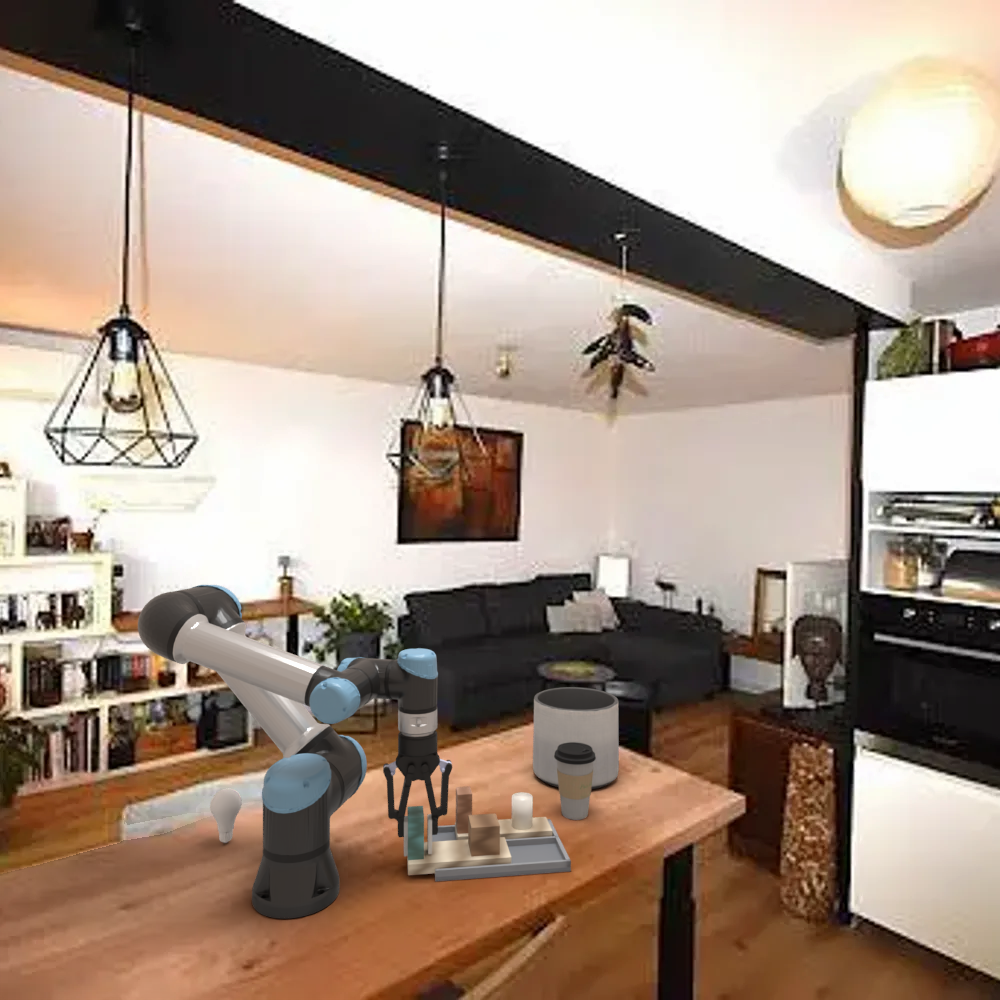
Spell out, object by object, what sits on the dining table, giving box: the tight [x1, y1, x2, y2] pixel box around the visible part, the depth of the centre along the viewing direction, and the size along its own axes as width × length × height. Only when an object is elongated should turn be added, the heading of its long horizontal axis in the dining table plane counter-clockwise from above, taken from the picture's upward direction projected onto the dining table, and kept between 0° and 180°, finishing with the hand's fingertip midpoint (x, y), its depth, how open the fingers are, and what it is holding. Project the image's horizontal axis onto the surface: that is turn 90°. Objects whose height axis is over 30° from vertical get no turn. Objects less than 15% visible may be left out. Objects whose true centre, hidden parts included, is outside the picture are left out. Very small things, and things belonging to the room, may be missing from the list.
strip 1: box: [406, 805, 511, 876], centre depth 139 cm, size 20×8×10 cm, turn 99°
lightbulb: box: [209, 787, 243, 844], centre depth 147 cm, size 6×6×11 cm
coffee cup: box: [554, 742, 596, 821], centre depth 161 cm, size 9×9×15 cm
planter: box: [532, 686, 620, 790], centre depth 184 cm, size 22×22×20 cm
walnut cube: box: [468, 813, 500, 856], centre depth 139 cm, size 6×6×6 cm
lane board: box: [432, 818, 572, 882], centre depth 144 cm, size 26×18×2 cm
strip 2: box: [454, 785, 552, 840], centre depth 149 cm, size 20×6×10 cm, turn 99°
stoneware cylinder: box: [511, 791, 534, 830], centre depth 149 cm, size 4×4×6 cm
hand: (417, 851), depth 137 cm, fingers closed on strip 1, 4 cm apart
